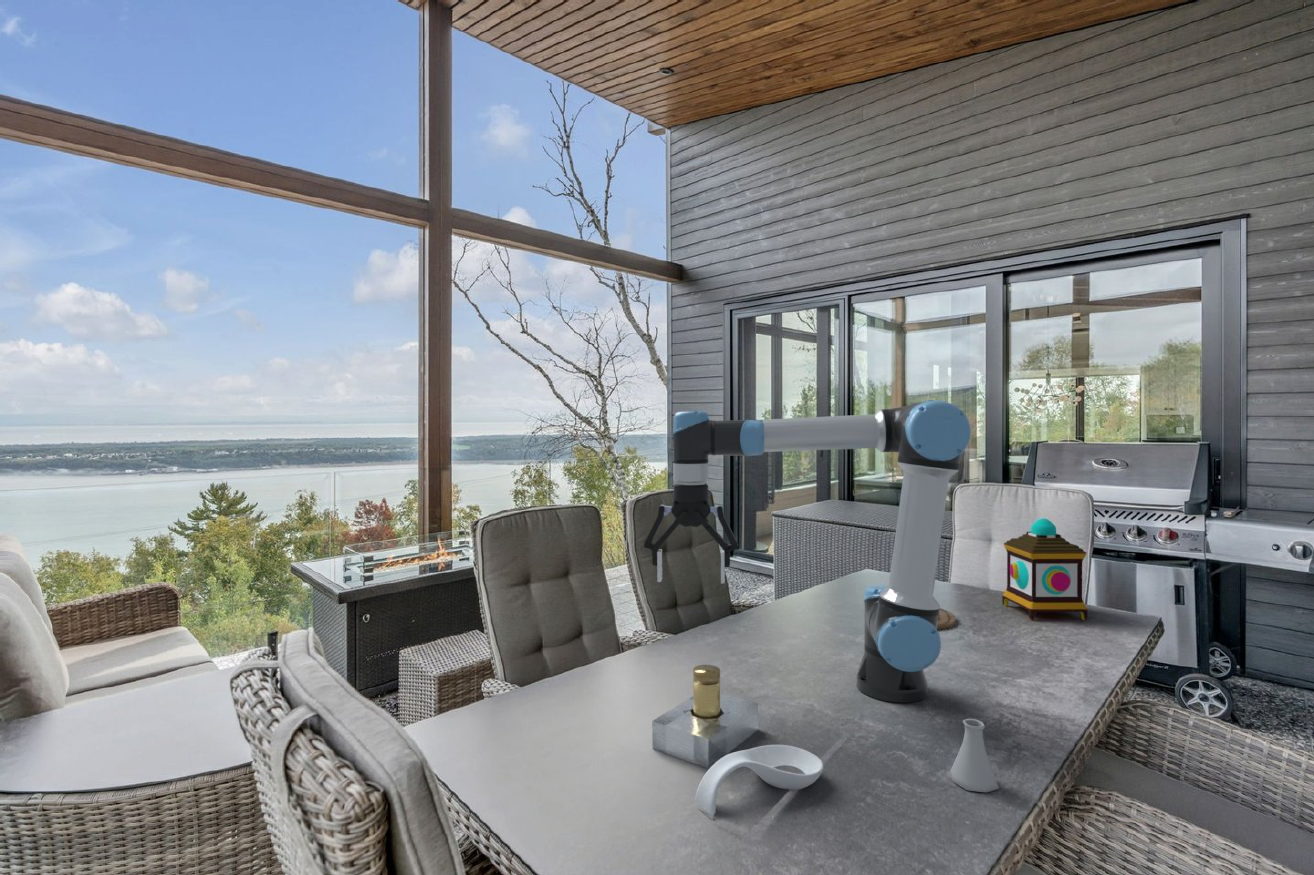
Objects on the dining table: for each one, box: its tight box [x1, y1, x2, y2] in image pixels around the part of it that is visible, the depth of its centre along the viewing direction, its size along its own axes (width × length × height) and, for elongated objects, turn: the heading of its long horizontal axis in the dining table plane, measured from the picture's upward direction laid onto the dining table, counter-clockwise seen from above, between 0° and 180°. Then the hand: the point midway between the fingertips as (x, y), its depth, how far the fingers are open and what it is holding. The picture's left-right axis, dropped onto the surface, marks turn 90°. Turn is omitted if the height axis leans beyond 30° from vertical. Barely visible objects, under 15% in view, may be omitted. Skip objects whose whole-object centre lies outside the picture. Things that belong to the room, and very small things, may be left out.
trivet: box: [937, 607, 957, 631], centre depth 203 cm, size 25×25×2 cm
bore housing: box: [651, 692, 759, 770], centre depth 123 cm, size 12×18×6 cm, turn 143°
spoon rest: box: [694, 744, 825, 821], centre depth 107 cm, size 24×12×7 cm, turn 124°
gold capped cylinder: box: [692, 664, 721, 719], centre depth 123 cm, size 5×5×13 cm
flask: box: [949, 718, 1000, 793], centre depth 110 cm, size 7×7×10 cm
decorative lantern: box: [1001, 517, 1089, 621], centre depth 208 cm, size 20×20×30 cm
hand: (691, 581), depth 142 cm, fingers open, 13 cm apart
